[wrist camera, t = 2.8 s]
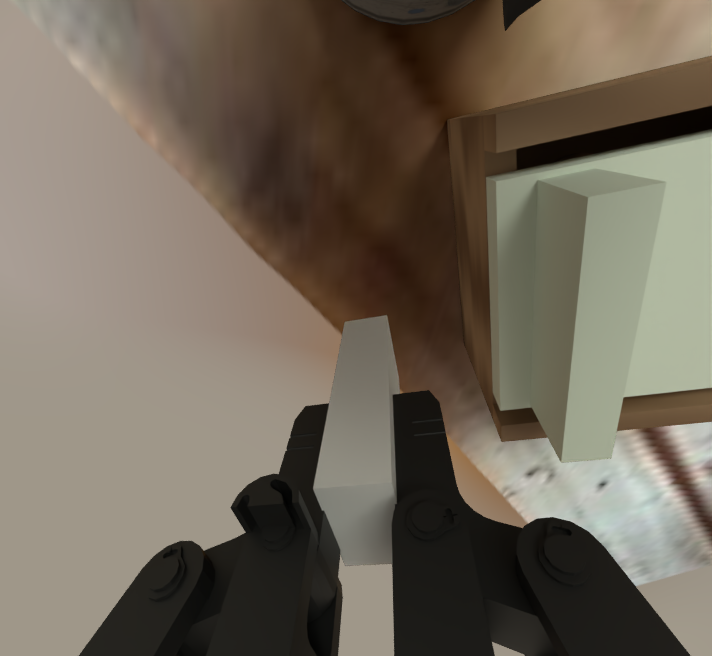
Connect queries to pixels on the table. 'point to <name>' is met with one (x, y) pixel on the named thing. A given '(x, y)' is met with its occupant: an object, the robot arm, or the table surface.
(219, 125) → the table surface
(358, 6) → the beverage bottle
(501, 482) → the table surface
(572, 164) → the lid
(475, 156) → the box
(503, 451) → the table surface
